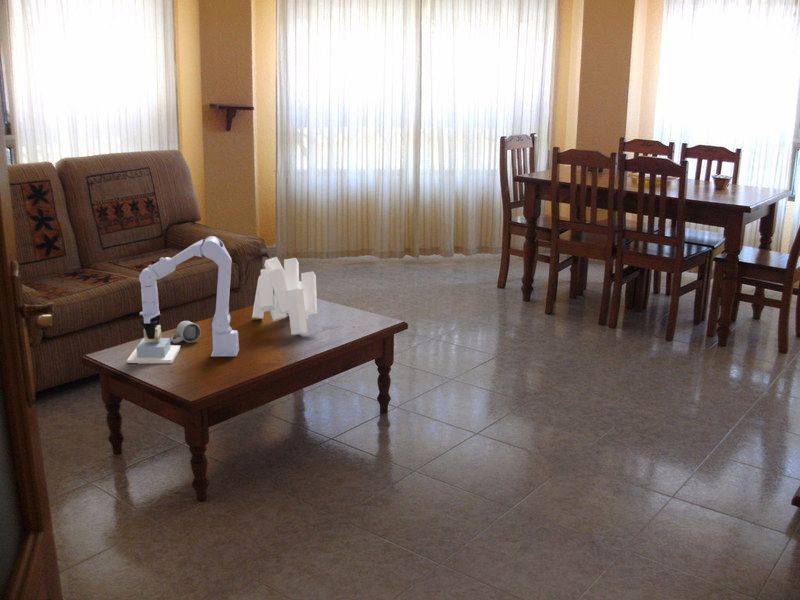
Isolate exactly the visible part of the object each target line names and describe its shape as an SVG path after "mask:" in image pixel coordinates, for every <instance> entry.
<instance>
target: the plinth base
mask: <svg viewBox="0 0 800 600" xmlns="http://www.w3.org/2000/svg"><path fill="white" fill-rule="evenodd" d="M180 350H181V345H179V344H178V345H176V344H175V345H173V344H171V338H170V337H162V338H161V339H160V341H159V342H145V341H144V337H143V338H142V339H141V340H140V342H139V343H138V344H137V346H136V347H135V349H134V350H133V351H132V353H131V354H130V356H129V357H128V358H127V359H126V364H127V363H138V364H173V362H174V360H175V358H176V357H177V355H178V353H179V351H180Z"/></svg>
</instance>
